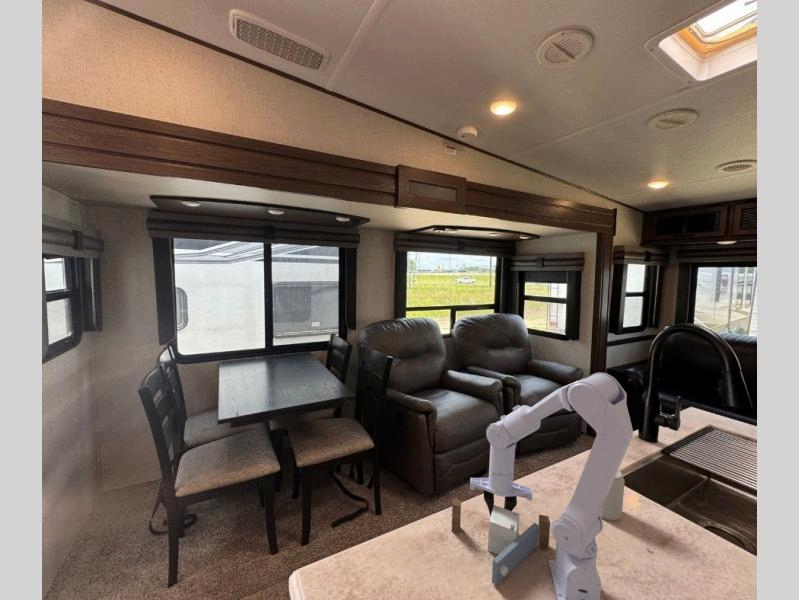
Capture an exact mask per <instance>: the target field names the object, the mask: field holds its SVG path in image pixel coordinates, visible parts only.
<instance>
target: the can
mask: <svg viewBox="0 0 799 600" xmlns="http://www.w3.org/2000/svg"><path fill="white" fill-rule="evenodd" d="M625 483H626V482H625V478H624V477H623V474H622V472H621V470H619V469H618V471H617V474H616V476H615V478H614V481H613V483H612V485H611V488H610V490H609V492H608V495H607V497H606V499H605V502H604V504H603V506H602V508H603V509H604V511H603V513H602V519H604V520H606V521H607V520H608V521H616V520H619V519H621V518H622V516H623V508H624V507H623V505H624V493H625V491H624V490H625Z"/></svg>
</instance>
